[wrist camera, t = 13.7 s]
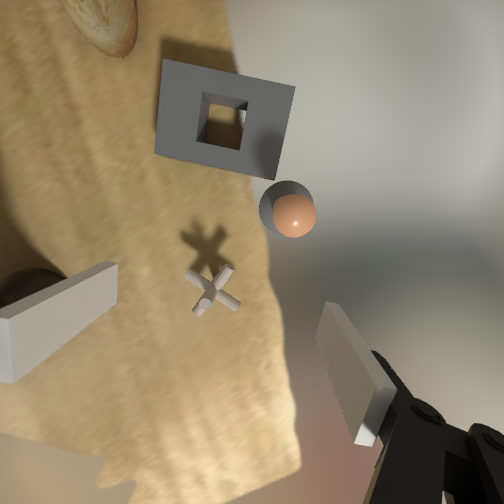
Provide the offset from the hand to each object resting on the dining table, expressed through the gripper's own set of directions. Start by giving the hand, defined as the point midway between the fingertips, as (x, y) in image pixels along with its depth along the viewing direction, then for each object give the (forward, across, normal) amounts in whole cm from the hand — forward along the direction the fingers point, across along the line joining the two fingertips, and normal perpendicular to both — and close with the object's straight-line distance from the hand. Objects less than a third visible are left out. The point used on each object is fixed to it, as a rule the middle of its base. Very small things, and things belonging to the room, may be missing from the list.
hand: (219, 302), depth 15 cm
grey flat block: (+27, -6, +15) cm, 32 cm away
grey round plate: (+27, +6, +5) cm, 28 cm away
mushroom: (+27, +6, +5) cm, 28 cm away
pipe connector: (+28, -3, -10) cm, 29 cm away
